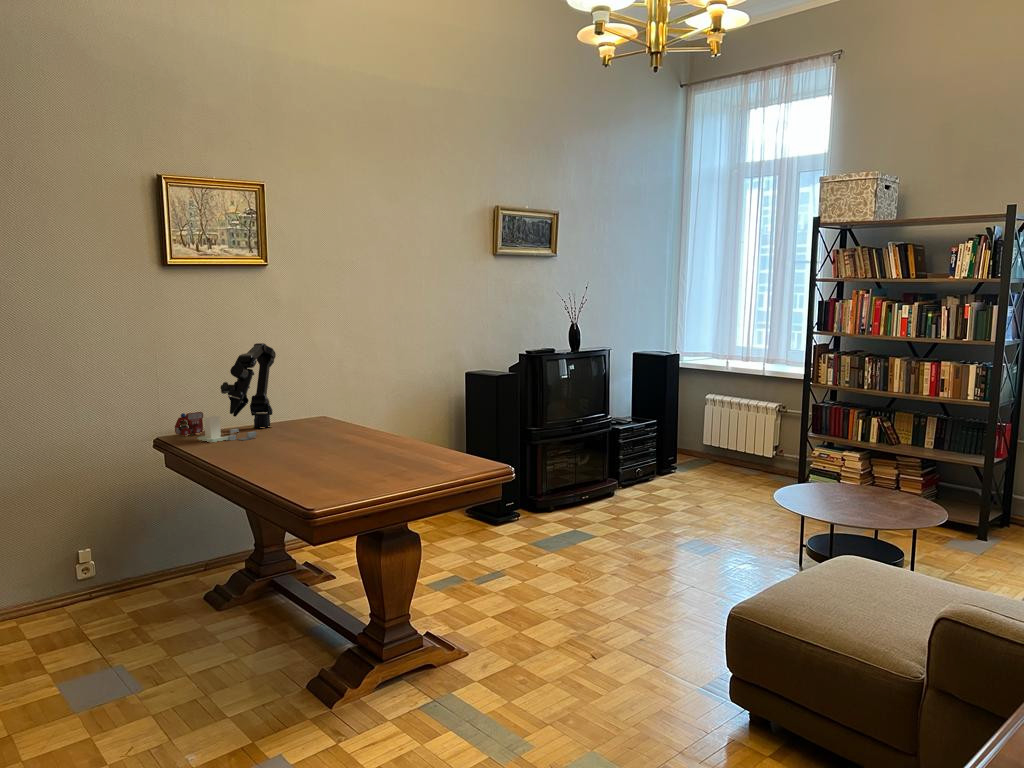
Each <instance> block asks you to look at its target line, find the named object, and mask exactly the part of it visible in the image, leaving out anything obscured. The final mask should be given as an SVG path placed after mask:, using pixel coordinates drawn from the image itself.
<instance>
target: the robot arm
mask: <svg viewBox="0 0 1024 768" xmlns="http://www.w3.org/2000/svg"><path fill="white" fill-rule="evenodd" d="M276 353H277V352H276V351H275V350H274V349H273V347H270V346H268V345H267V344H266V343H263V342H261V343H258V342H257V343H254V344H253V346H252V347H251V349H250V350H248V351H247V352H245V353H242V354H239V355H238V356H237V358H236V360H235V363H234V365H232V366H231V368H230V371H229V373H230V374H231V375H232V376H233V377H234V378H235V379H236V381H235V382H234V383H233V384H231V383H230V384H229V382H228V381H225V382H223V383H222V384H221V385H220V393H221V394H222V395H225V394H227V398H228V399H229V400H230V403H229V414H231V415H232V416H233V417H237V416H238V415H239V413H240V412H242V410H243V409H244V408H245V407H246V406H247V405H248V404H249V398H248V397H247V396H248V391H249V389H251V385H250V384H251V382H252V379H253V376H255V372H254V370H253V368H255V366H256V364H257V363H258V365H259V366H258V367H259V369H258V374H257V375H258V376H257V383H256V384H257V385H256V392H255V394H254V395H252V396H251V400H250V404H249V409H250V414H251V416H252V417H253V416H254V419H253V427H256V428H255V429H258V428H260V427H268V426H271V416H273V408H272V405H271V404H270V399H269V398H268V387H269V379H270V378H269V377H270V376H269V375H270V368H271V367H272V365H273V364H274V363H275V359H276V355H277V354H276Z"/></svg>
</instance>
